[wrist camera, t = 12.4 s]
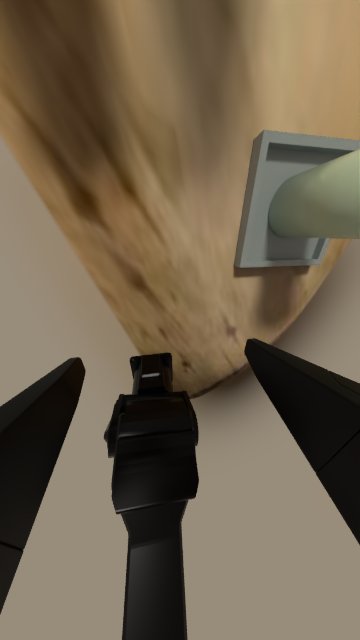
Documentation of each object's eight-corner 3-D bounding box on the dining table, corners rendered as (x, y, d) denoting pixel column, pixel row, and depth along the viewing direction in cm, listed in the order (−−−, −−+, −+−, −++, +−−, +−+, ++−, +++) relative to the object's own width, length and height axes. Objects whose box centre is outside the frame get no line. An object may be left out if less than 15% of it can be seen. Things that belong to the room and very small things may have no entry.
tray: (309, 263, 22) (319, 265, 20) (233, 265, 20) (239, 267, 19) (352, 149, 16) (370, 141, 15) (253, 139, 15) (264, 129, 13)
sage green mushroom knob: (305, 242, 20) (481, 251, 9) (257, 241, 18) (398, 250, 8) (332, 170, 16) (649, 61, 6) (275, 163, 15) (551, 12, 5)
